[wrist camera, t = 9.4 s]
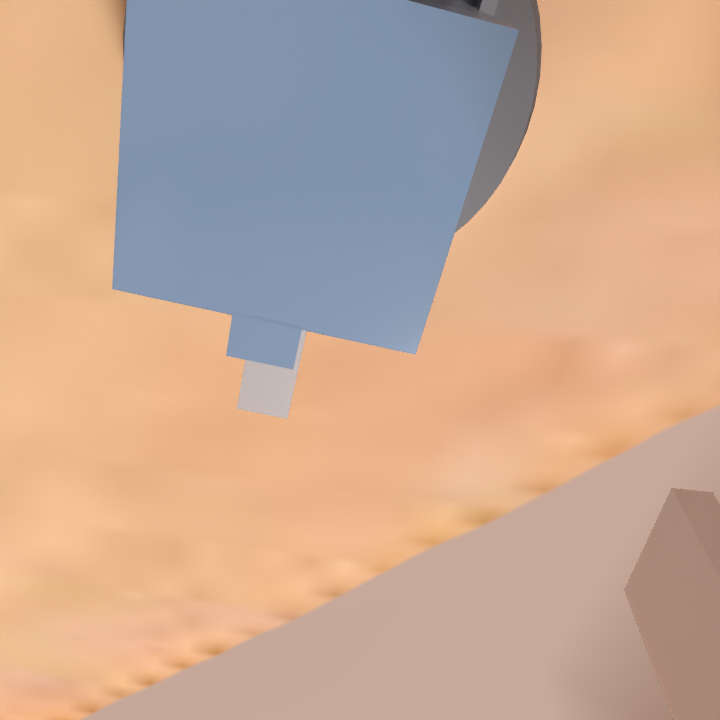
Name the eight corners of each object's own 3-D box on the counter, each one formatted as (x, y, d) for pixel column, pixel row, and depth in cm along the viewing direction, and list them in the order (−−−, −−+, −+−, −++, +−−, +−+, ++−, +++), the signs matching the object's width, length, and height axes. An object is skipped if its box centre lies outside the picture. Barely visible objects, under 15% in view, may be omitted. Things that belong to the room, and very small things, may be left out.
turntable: (592, -97, 22) (637, -108, 18) (427, 388, 31) (433, 448, 27) (151, -224, 20) (99, -266, 16) (119, 323, 30) (82, 377, 26)
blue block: (494, -133, 20) (596, -214, 11) (394, 233, 26) (403, 392, 16) (259, -200, 19) (144, -352, 10) (211, 190, 25) (110, 331, 16)
